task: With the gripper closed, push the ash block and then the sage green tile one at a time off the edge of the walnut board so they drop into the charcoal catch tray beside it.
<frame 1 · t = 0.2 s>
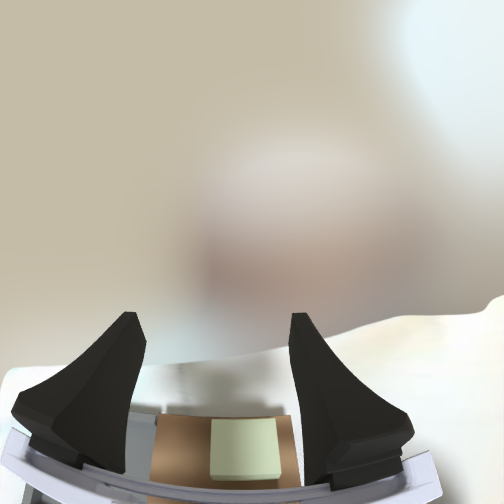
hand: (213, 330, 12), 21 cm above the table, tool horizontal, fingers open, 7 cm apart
catch tray: (93, 476, 18), on the table
walnut board: (225, 498, 18), on the table
sage tile: (244, 454, 21), point 3 cm above the table, touching walnut board
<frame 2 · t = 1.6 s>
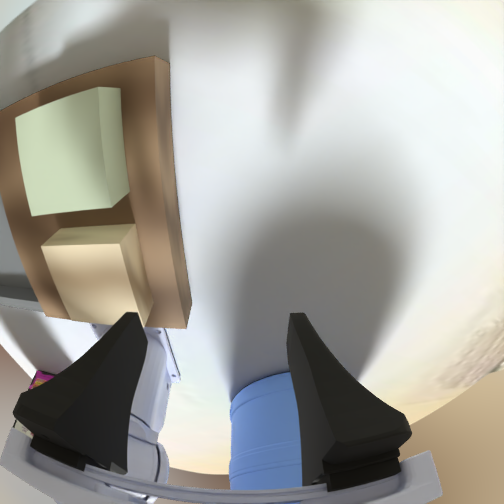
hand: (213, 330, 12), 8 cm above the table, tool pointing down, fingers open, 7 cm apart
walnut board: (89, 204, 17), on the table
sage tile: (80, 148, 13), point 3 cm above the table, touching walnut board
ash block: (105, 266, 17), point 3 cm above the table, touching walnut board
water jug: (292, 400, 31), on the table
candy bar box: (68, 383, 31), on the table
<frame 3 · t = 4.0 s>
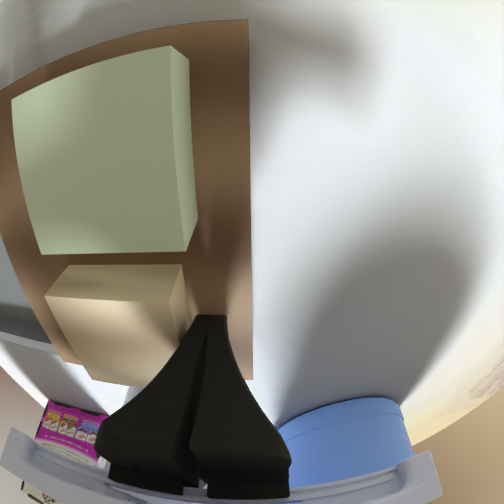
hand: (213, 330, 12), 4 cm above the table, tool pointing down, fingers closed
walnut board: (120, 226, 14), on the table
sage tile: (115, 149, 9), point 3 cm above the table, touching walnut board
ash block: (134, 314, 13), point 3 cm above the table, touching walnut board
water jug: (336, 424, 27), on the table
candy bar box: (85, 414, 27), on the table
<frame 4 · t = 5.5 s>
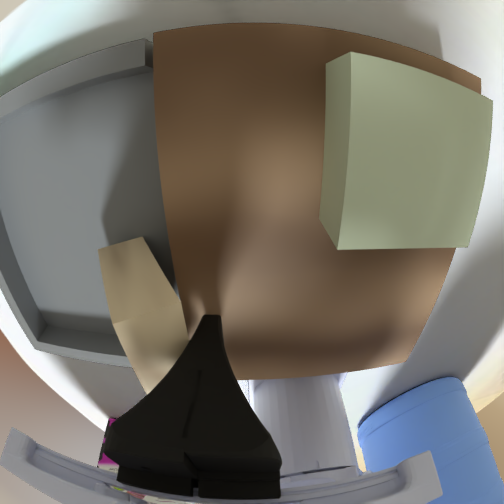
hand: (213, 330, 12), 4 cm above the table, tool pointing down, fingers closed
catch tray: (69, 231, 14), on the table
walnut board: (321, 222, 14), on the table
sage tile: (395, 150, 9), point 3 cm above the table, touching walnut board
ash block: (169, 314, 13), point 3 cm above the table, tilted 59°, touching catch tray, gripper
water jug: (409, 408, 27), on the table
candy bar box: (154, 429, 27), on the table
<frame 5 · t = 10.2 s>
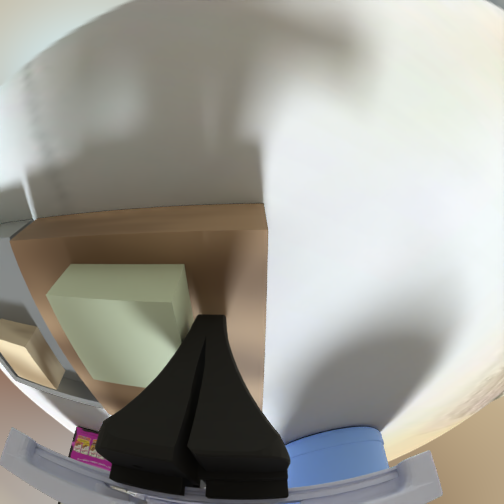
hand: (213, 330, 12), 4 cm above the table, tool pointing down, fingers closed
catch tray: (21, 316, 17), on the table
walnut board: (159, 333, 18), on the table
sage tile: (136, 314, 13), point 3 cm above the table, touching gripper
ash block: (21, 363, 16), point 3 cm above the table, tilted 180°, touching catch tray
water jug: (327, 444, 31), on the table
candy bar box: (111, 437, 31), on the table
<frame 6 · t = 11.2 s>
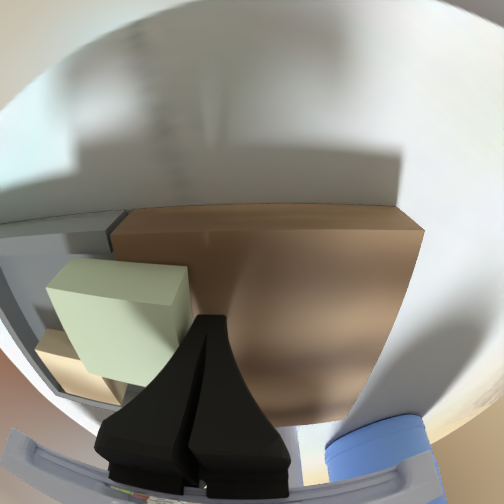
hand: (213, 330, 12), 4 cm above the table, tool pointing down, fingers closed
catch tray: (77, 325, 18), on the table
walnut board: (266, 334, 18), on the table
sage tile: (135, 312, 13), point 3 cm above the table, touching gripper
ash block: (77, 380, 16), point 3 cm above the table, tilted 180°, touching catch tray
water jug: (373, 435, 31), on the table
candy bar box: (153, 446, 31), on the table
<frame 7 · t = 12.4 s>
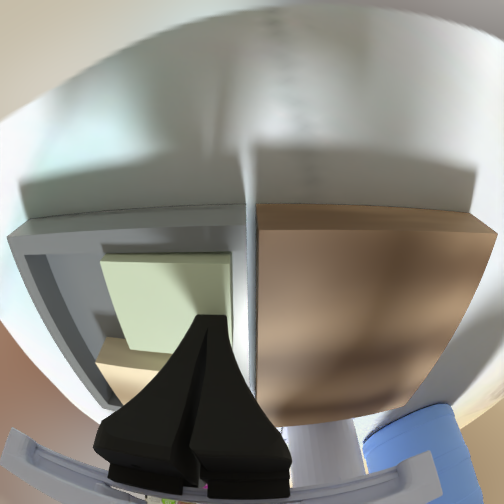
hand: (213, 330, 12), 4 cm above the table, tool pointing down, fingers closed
catch tray: (147, 332, 18), on the table
walnut board: (355, 328, 18), on the table
sage tile: (179, 284, 15), point 1 cm above the table, touching catch tray
ash block: (146, 392, 17), point 3 cm above the table, tilted 180°, touching catch tray
water jug: (406, 426, 31), on the table
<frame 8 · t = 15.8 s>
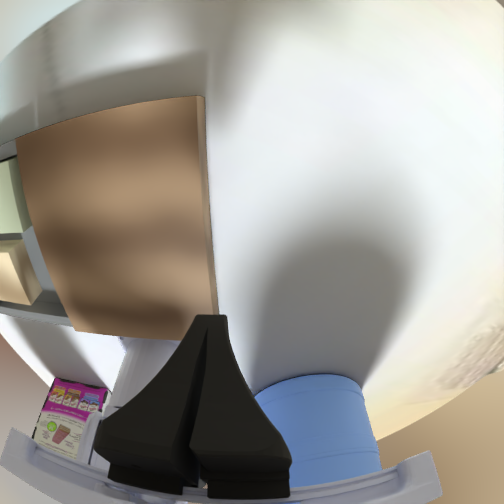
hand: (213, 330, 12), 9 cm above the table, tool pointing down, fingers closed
catch tray: (10, 235, 19), on the table
walnut board: (123, 227, 20), on the table
sage tile: (12, 190, 17), point 1 cm above the table, touching catch tray
ash block: (3, 278, 18), point 3 cm above the table, tilted 180°, touching catch tray
water jug: (304, 401, 33), on the table
candy bar box: (87, 390, 33), on the table
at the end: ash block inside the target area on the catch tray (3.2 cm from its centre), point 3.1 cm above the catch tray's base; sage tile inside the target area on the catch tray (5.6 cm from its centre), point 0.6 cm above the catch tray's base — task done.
